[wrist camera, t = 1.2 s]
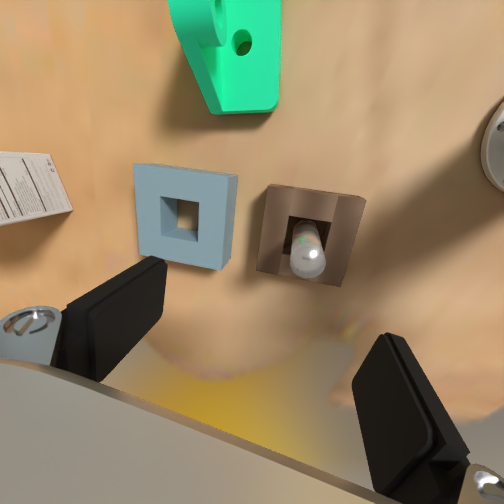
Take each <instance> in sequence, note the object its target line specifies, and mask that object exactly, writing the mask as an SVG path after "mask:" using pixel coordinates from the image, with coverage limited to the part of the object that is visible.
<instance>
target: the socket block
mask: <svg viewBox="0 0 504 504" xmlns="http://www.w3.org/2000/svg"><path fill="white" fill-rule="evenodd" d="M133 170H134V185H135V199H136V214H137V228H138V243H139V255H144V256H151V255H152V256H155V257H158V258H161V259H164V260H169V261H174V262H179V263H184V264H189V265H194V266H200V267H205V268H210V269H215V270H220V271H221V270H222V269H223V268H224V266H225V265H226V264H227V262H228V261H229V260H230V258H231V248H232V237H233V226H234V215H235V204H236V193H237V182H238V175H232V174H225V173H218V172H211V171H203V170H196V169H189V168H181V167H174V166H167V165H160V164H133ZM177 199H182V200H188V201H194V202H199V224H198V231H195V230H190V229H184V228H178V227H177Z"/></svg>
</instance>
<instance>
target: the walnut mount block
mask: <svg viewBox="0 0 504 504" xmlns="http://www.w3.org/2000/svg"><path fill="white" fill-rule="evenodd" d="M365 203H366V200H365V199H364V198H362V197H360V196H354V195H347V194H340V193H333V192H326V191H318V190H311V189H304V188H297V187H290V186H283V185H275V184H270V185H269V186H268V188H267V195H266V202H265V209H264V217H263V224H262V231H261V238H260V246H259V253H258V260H257V267H256V271H260V272H265V273H271V274H276V275H281V276H286V277H291V278H296V279H302V280H307V281H312V282H317V283H322V284H327V285H333V286H338V287H341V284H342V281H343V277H344V274H345V271H346V267H347V264H348V261H349V257H350V254H351V250H352V247H353V244H354V240H355V237H356V234H357V230H358V227H359V224H360V220H361V217H362V214H363V210H364V207H365ZM289 216H295V217H302V218H308V219H314V220H321V221H327V224H326V228H325V232H324V236H323V241H322V248H323V252H324V255H325V259H326V265H325V268H324V270H323V272H322V273H321V274H320V275H318V276H316V277H314V278H302V277H300V276H298V275H296V274H295V273H294V272H293V270H292V269H291V266H290V257H291V247H290V246H285V245H284V241H285V236H286V230H287V225H288V219H289Z"/></svg>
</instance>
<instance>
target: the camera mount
mask: <svg viewBox="0 0 504 504" xmlns="http://www.w3.org/2000/svg"><path fill="white" fill-rule="evenodd" d="M168 4H169V10H170V15H171V19H172V22H173V26H174V29H175V32H176V34H177V37H178V39H179V41H180V43H181V46H182V48H183V50H184V53H185V55H186V57H187V60H188V62H189V64H190V67H191V69H192V71H193V74H194V76H195V78H196V81H197V83H198V85H199V88H200V90H201V92H202V95H203V97H204V99H205V102H206V104H207V106H208V109H209V111H210V112H211V113H212V114H214V115H222V114H245V113H267V112H272V111H274V110H275V109H276V108H277V106H278V103H279V77H280V70H281V40H282V18H281V15H282V0H168ZM245 41H250V42H252V47H251V49H250V51H249V52H248V53H247V54H246V55H244V56H238V55H237V51H238V48H239V46H240V45H241V44H242V43H243V42H245Z"/></svg>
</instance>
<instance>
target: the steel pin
mask: <svg viewBox="0 0 504 504" xmlns="http://www.w3.org/2000/svg"><path fill="white" fill-rule="evenodd" d="M325 265H326V259H325V255H324V252H323V248H322V244H321V241H320V237H319V233H318V230H317V226H316V225H315V223H314V222H312V221H310V220H301V221H299V222H298V223H297V224H296V225H295V226H294V229H293V238H292V247H291V257H290V266H291V269H292V270H293V272H294V273H295V274H296V275H298V276H300V277H302V278H314V277H316V276H318V275H320V274H321V273H322V272H323V270H324V268H325Z"/></svg>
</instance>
